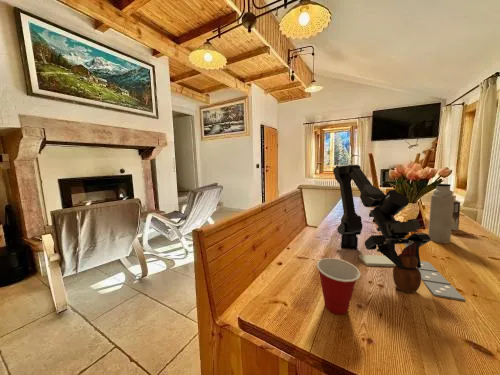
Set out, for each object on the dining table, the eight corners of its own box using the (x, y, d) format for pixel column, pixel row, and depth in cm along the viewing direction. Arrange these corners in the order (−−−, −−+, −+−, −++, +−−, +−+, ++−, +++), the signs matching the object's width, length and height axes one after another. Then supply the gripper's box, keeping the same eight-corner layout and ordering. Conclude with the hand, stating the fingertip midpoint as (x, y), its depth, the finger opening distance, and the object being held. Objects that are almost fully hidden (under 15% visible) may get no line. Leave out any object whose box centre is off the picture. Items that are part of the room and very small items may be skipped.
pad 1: (413, 269, 74) (413, 267, 74) (406, 260, 80) (406, 259, 80) (437, 272, 71) (437, 271, 71) (428, 263, 77) (429, 261, 77)
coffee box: (455, 227, 116) (457, 200, 114) (458, 231, 111) (461, 202, 109) (434, 225, 121) (436, 199, 119) (436, 228, 116) (438, 201, 114)
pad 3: (433, 295, 59) (433, 293, 59) (423, 282, 65) (423, 281, 65) (465, 301, 56) (465, 299, 56) (451, 286, 63) (451, 285, 63)
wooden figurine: (416, 286, 63) (419, 241, 62) (422, 297, 58) (426, 248, 57) (390, 281, 66) (392, 238, 65) (394, 291, 61) (397, 244, 59)
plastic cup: (348, 330, 48) (349, 283, 46) (308, 307, 56) (308, 266, 54) (365, 308, 55) (367, 267, 53) (328, 290, 63) (328, 254, 61)
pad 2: (422, 280, 66) (422, 279, 66) (414, 270, 73) (414, 269, 73) (449, 285, 64) (450, 283, 64) (439, 273, 70) (439, 272, 70)
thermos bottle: (425, 236, 105) (428, 183, 101) (444, 237, 102) (448, 183, 99) (433, 242, 97) (437, 184, 94) (454, 243, 94) (459, 184, 91)
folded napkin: (366, 265, 77) (366, 263, 77) (359, 257, 84) (359, 255, 84) (394, 266, 76) (394, 264, 76) (384, 258, 83) (384, 255, 82)
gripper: (371, 211, 63) (396, 261, 53) (428, 208, 64) (463, 257, 54) (356, 227, 72) (375, 273, 62) (406, 225, 73) (433, 269, 63)
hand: (410, 268), depth 60 cm, fingers open, 5 cm apart
